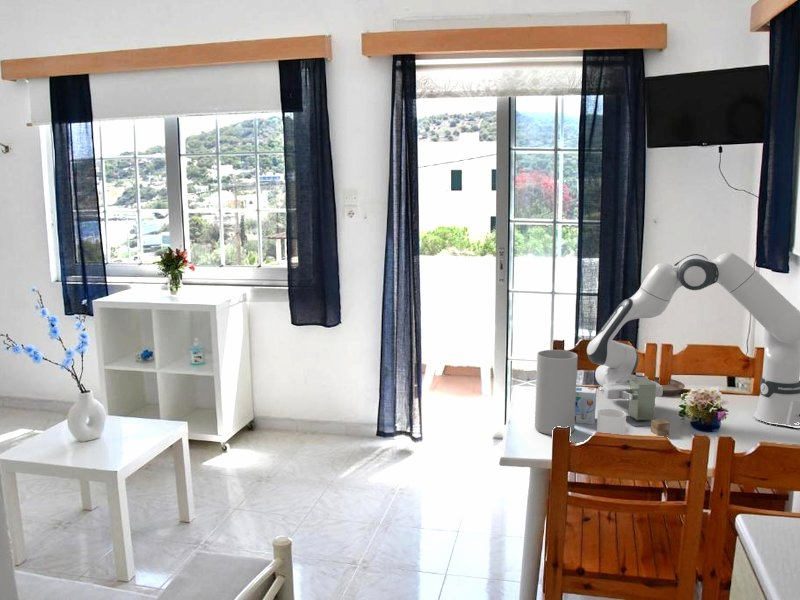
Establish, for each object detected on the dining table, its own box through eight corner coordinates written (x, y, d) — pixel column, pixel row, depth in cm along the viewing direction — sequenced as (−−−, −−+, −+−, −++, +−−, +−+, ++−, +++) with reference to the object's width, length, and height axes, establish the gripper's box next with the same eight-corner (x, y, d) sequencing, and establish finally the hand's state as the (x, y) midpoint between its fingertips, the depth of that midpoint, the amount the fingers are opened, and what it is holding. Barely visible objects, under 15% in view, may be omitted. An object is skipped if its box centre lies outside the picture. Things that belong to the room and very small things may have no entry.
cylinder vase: (527, 425, 243) (530, 351, 239) (561, 421, 247) (564, 348, 243) (546, 438, 231) (549, 360, 227) (581, 434, 235) (585, 357, 231)
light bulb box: (561, 421, 247) (562, 390, 246) (563, 415, 254) (564, 384, 252) (594, 424, 244) (596, 393, 243) (595, 418, 251) (596, 387, 249)
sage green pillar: (644, 413, 251) (646, 379, 249) (653, 419, 245) (656, 384, 243) (628, 414, 250) (630, 380, 248) (637, 420, 244) (639, 384, 242)
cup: (600, 449, 222) (601, 417, 220) (590, 435, 234) (591, 404, 232) (627, 449, 222) (629, 417, 220) (616, 435, 234) (618, 405, 232)
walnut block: (662, 431, 239) (662, 419, 238) (668, 435, 235) (669, 423, 234) (650, 431, 238) (651, 419, 237) (657, 436, 234) (657, 423, 233)
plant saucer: (692, 390, 284) (693, 383, 284) (670, 400, 272) (671, 392, 272) (650, 381, 297) (650, 374, 297) (627, 389, 285) (627, 382, 285)
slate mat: (646, 415, 254) (646, 414, 254) (662, 425, 244) (662, 423, 244) (619, 417, 252) (619, 416, 252) (634, 426, 242) (634, 425, 242)
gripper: (596, 378, 257) (615, 389, 243) (650, 375, 260) (671, 386, 247) (595, 396, 258) (614, 408, 244) (649, 393, 261) (670, 404, 248)
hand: (643, 397), depth 246 cm, fingers closed on sage green pillar, 6 cm apart
